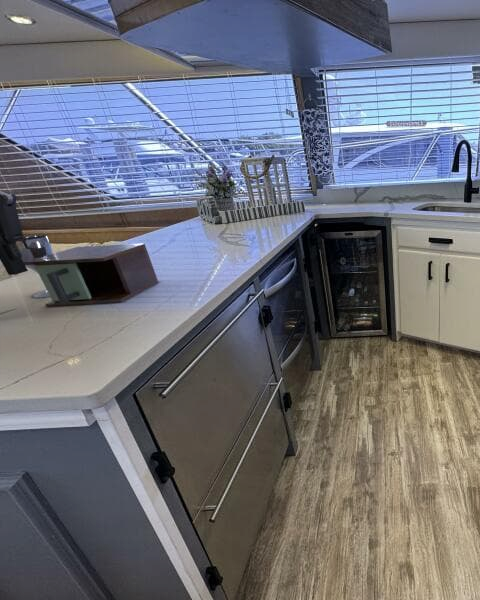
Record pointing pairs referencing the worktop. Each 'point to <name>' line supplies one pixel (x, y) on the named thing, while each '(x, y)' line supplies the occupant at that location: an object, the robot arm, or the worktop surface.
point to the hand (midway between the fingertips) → (18, 272)
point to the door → (63, 281)
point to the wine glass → (34, 252)
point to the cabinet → (106, 271)
